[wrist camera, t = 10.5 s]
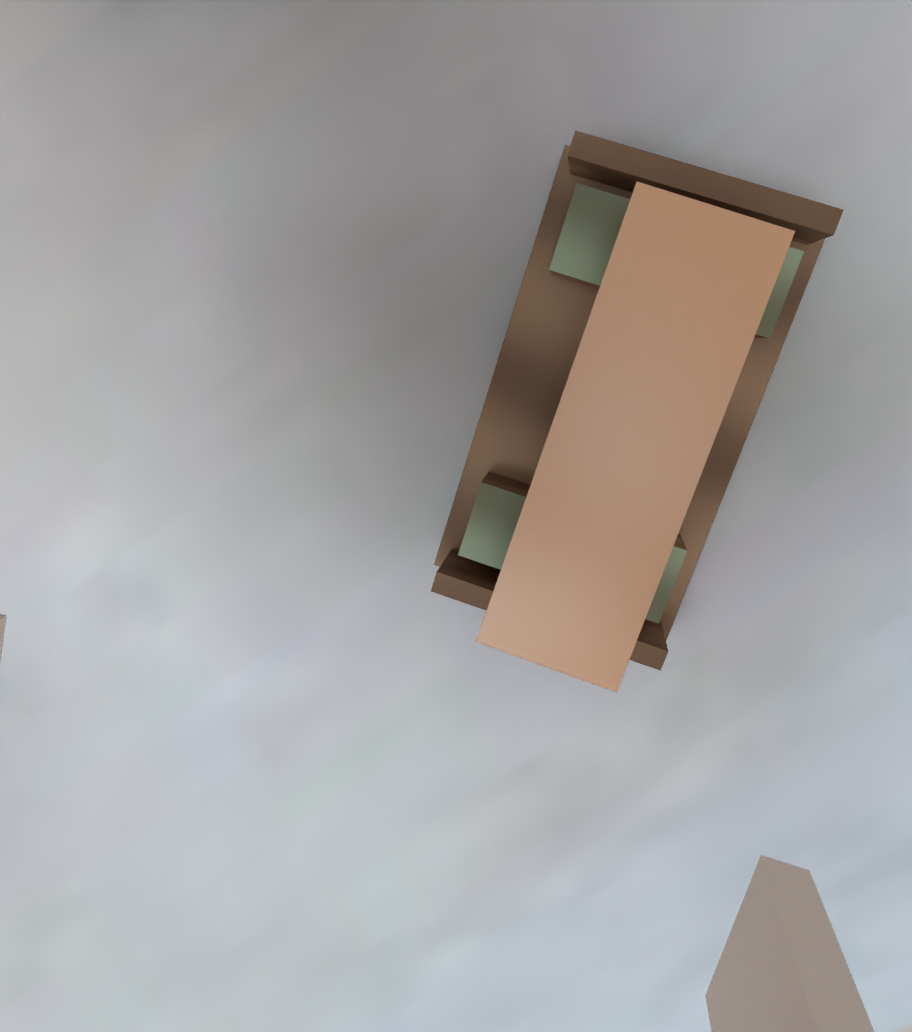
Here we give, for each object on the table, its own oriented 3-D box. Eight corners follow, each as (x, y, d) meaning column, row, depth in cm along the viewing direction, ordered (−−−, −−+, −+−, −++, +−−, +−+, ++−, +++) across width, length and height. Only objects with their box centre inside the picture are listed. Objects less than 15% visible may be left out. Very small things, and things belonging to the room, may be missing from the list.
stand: (566, 155, 34) (561, 123, 28) (816, 230, 33) (859, 211, 28) (442, 552, 38) (417, 589, 33) (661, 627, 37) (672, 677, 32)
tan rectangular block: (624, 222, 30) (637, 181, 24) (750, 262, 29) (795, 231, 23) (493, 594, 32) (475, 641, 26) (608, 635, 32) (616, 692, 26)
